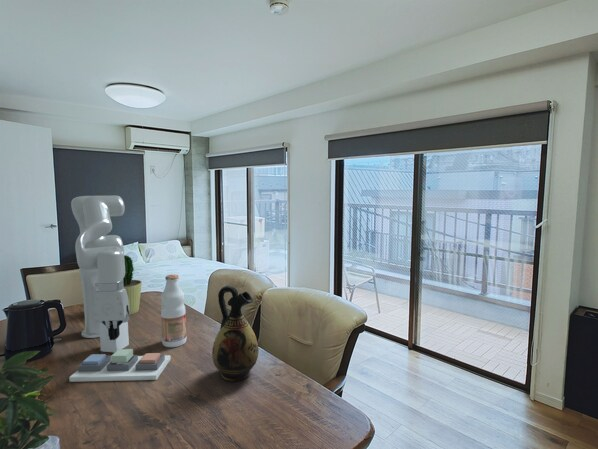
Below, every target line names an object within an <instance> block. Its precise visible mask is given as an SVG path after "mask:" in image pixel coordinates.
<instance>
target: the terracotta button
mask: <svg viewBox="0 0 598 449" xmlns="http://www.w3.org/2000/svg"><path fill="white" fill-rule="evenodd" d="M160 355H161V353H160V352H152V353H151V352H150V353H149V352H148V353H146V352H145V354H143V355H142V356H143V357H142V358H141V360H140V364H150V363H156V362H157V361H158V360H159V358H160Z"/></svg>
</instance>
